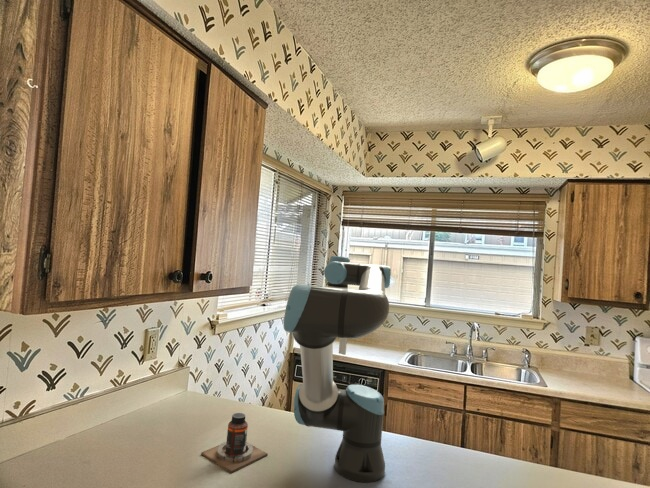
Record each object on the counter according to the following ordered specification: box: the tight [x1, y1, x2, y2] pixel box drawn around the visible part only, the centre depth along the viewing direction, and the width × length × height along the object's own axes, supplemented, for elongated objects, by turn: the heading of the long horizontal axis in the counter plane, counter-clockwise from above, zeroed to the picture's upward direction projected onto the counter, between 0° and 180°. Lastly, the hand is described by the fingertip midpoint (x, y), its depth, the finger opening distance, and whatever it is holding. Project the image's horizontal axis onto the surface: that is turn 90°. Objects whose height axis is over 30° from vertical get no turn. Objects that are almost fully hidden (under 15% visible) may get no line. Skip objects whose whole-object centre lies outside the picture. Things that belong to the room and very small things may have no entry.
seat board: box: [200, 444, 268, 474], centre depth 116 cm, size 14×14×1 cm
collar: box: [217, 441, 253, 462], centre depth 116 cm, size 11×11×1 cm
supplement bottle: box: [225, 412, 249, 456], centre depth 116 cm, size 6×6×11 cm
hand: (331, 356), depth 138 cm, fingers open, 13 cm apart
